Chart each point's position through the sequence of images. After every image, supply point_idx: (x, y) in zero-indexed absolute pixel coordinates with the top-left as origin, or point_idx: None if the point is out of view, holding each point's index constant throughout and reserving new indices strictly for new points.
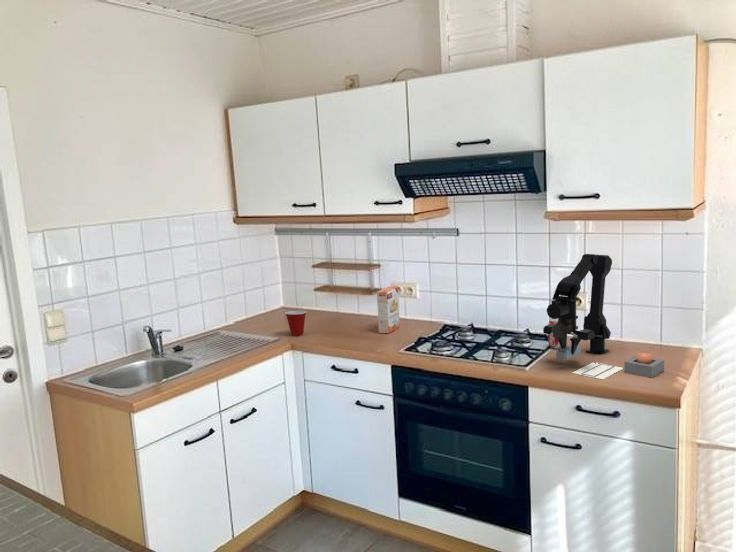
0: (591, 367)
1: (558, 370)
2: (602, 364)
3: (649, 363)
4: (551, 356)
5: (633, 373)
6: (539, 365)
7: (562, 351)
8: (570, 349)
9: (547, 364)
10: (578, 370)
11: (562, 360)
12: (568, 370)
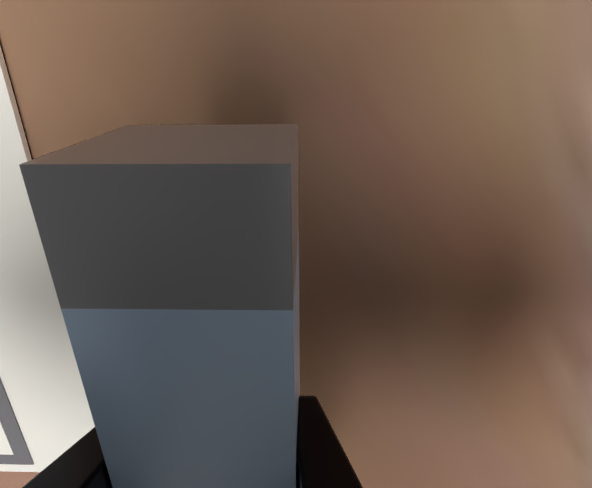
0: (7, 343)
1: (213, 17)
2: (11, 456)
3: None
4: (553, 432)
5: None
6: (571, 56)
7: (128, 239)
8: (113, 459)
9: (481, 171)
10: (10, 171)
11: (159, 125)
12: (115, 112)
